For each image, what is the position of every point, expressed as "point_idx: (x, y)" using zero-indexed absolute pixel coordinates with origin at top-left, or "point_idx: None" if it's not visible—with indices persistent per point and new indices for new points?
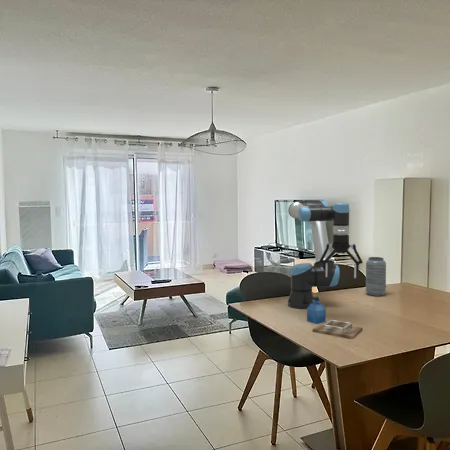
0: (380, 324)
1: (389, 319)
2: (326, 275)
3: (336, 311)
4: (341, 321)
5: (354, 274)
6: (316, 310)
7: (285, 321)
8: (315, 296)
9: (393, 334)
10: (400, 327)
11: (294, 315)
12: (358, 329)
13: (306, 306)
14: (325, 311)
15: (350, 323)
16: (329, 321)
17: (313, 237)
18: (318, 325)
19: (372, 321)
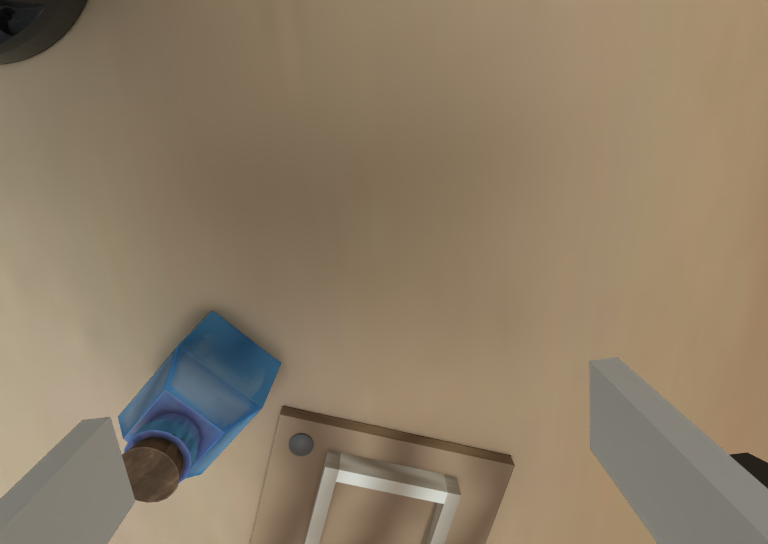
0: (625, 305)
1: (705, 162)
2: (107, 523)
3: (311, 49)
4: (394, 484)
5: (621, 491)
6: (205, 467)
7: (38, 429)
8: (132, 456)
9: None
10: (738, 330)
11: (36, 277)
12: (491, 501)
13: (38, 42)
14: (265, 398)
15: (450, 505)
16: (322, 506)
17: None
18: (262, 500)
19: (581, 253)
